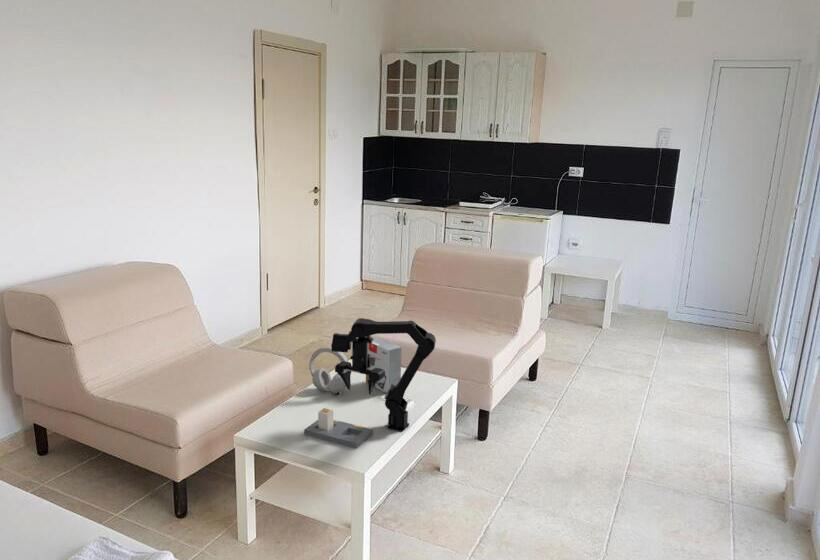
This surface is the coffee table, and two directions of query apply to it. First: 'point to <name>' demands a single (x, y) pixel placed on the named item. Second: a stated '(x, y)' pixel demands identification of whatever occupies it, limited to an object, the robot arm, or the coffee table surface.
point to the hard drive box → (385, 362)
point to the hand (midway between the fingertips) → (359, 392)
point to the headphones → (327, 373)
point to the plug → (325, 419)
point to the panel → (340, 433)
